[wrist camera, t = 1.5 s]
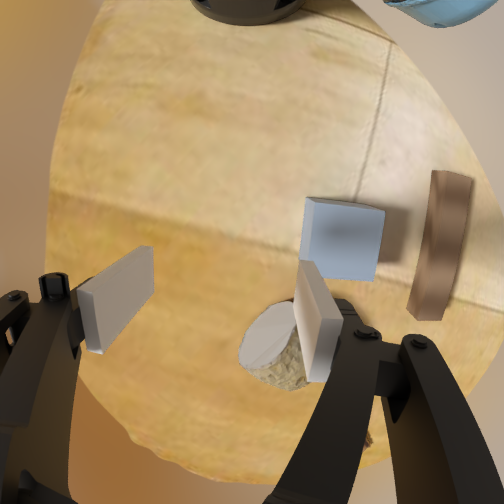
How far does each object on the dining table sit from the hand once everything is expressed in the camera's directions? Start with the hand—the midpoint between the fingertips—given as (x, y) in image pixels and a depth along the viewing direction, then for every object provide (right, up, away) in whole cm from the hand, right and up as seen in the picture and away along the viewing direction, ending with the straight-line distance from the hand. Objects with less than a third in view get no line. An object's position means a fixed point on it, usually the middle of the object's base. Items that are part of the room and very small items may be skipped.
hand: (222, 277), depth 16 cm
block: (+11, +4, +17) cm, 20 cm away
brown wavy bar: (+25, +2, +16) cm, 30 cm away
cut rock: (+6, -8, +20) cm, 23 cm away
